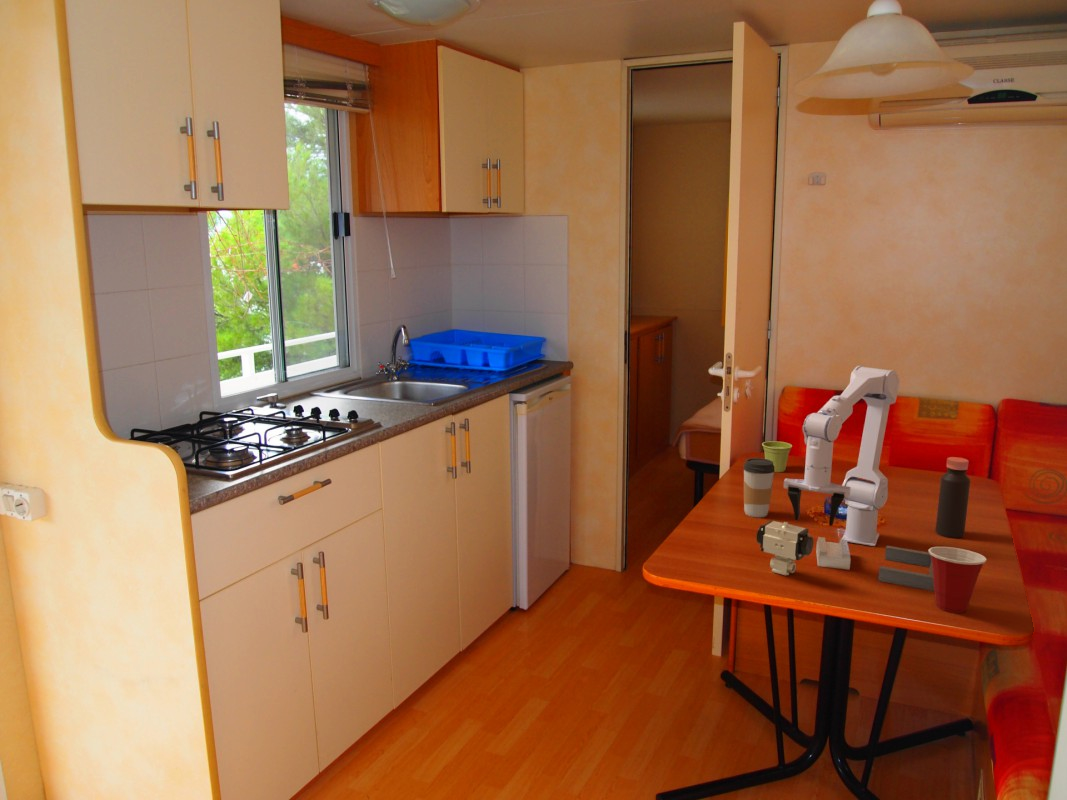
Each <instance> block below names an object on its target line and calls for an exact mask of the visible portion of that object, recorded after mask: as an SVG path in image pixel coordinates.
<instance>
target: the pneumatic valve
mask: <svg viewBox="0 0 1067 800" xmlns="http://www.w3.org/2000/svg"><path fill="white" fill-rule="evenodd" d="M756 543H757V544H759V545H760V546H759V547H760V548H761V549H760V551H761V552H764V553H768V554H771V555H774V556H775V557H771V559H770V560H769V561H770V563H769V567H770V568H771V572H772V573H774V574H777V575H783V576H786V577H787V576H789V575H790V574H794V573H795V571H796V567H797V566H796V563H795V561H800V560H801V559H803V558H804V557H806V556H807V557H808V556H810V554H811V553H812V551H813V548H814V537H813V536H810V533H809V528H805V527H802V526H797V525H793V524H789V522H788V521H784V522H780V521H775V520H769V521H768V522H767V523H766V522H765V524H761V525H760V526H759V527H758V529H757V533H756Z"/></svg>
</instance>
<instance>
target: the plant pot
mask: <svg viewBox="0 0 1067 800" xmlns="http://www.w3.org/2000/svg"><path fill="white" fill-rule="evenodd" d="M761 445H762V447H763V451H764V459H767V460H771V461H772V462H773V465H774V467H775V468H774V470H775V471H774V473H783V472H785V471H786V467H787V462H788V459H789V453H790V452H791V449H792V447H793V445H792V444H791V443H788V442H784V441H775V440H773V441H771V440H770V441H764V442H762V443H761Z"/></svg>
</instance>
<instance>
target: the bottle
mask: <svg viewBox="0 0 1067 800" xmlns="http://www.w3.org/2000/svg"><path fill="white" fill-rule="evenodd" d="M969 462H970V461H969V460H968V459H966V458H964V457H955V456H950V457H947V458H946V471H947V472H945V473H943V474H942V476H941V477H940V485H939V487H940V488H939V493H938V504H937V512H936V522H935V529H934V530H935V532H936V534H937V535H940V536H941V537H945V538H950V539H952V538H953V539H959V538H963V537H964V536H965V533H966V532H965V531H966V522H967V513H968V505H969V494H970V487H971V478H970V477H969V476H968V475H967V473H966V472H968V468H969Z"/></svg>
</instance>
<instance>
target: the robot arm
mask: <svg viewBox="0 0 1067 800" xmlns="http://www.w3.org/2000/svg"><path fill="white" fill-rule="evenodd" d="M899 378H900V377H899V375H898V374H897V372H896V370H895V369H883V368H876V367H868V366H867V367H866V366H862V365H857V366H855V368H854V369H852V371H851V373H850V377H849V384H848V385H847V386H846V388H844V390H843V391H842V393H841V394H840V395H833V396H832V397H831V398H830V399H829V400H828V401H826V403H825V404H824V405H823V406H822V407H821V408H820V409H819V410H818V411H817V412H812V413H810V414H808V415H807V416H806V418H805V419H804V422H803V425H802V433H803V436H804V444H805V445H806V451H805V452H806V453H805V467H804V479H803V478H802V479H800V478H798V479H797V478H784V481H783V489H787V491H786V492H787V496H788V498H789V500H790V503H791V506H792V510H793V514H794V521H799V519H800V515H801V512H800V511H801V499H802V498H801V497H802V491H807V492H808V491H809V492H815V493H822V494H829V495H832V496H831V498H830V514H829V515H830V516H829V519H828V520H829V521H828V522H829V523H828V526H833V525H834V522H835V521H834V520H835V517H836V514H837V511H838V509H839V507H840V506H841V504H842V502H843V501H845V503H844V504H845V505H847V513H846V523H845V531H844V534H843V536H842V538H841V539H844V540H847V543H852V544H853V543H854V544H857V545H865V546H870V547H876V545H877V542H878V539H879V537H880V533H878V532H877V525H878V518H879V517H878V514H879V509H880V510H881V508H883V507H884V506H885V504H886V503H887V500H888V496H889V491H888V484H889V479H888V478H887V477H886V476H885V475H884V474H883V473H882V471H880V469H879V466H880V460H881V457H882V455H881V454H882V451H883V450H882V449H883V445H884V444H883V443H884V438H885V433H886V427H887V423H888V416H889V411H890V405H894V404H895V403H896V402H897V401H896V400H897V397H898V392H899V386H900V379H899ZM861 399H862V400H864V401H865V403H866V405H867V409H866V414H865V420H864V424H863V431H862V437H861V441H860V442H861V443H860V448H859V454H858V459H857V464H856V466H855V467H853V468H851V469H849V470H848V471H847V472H846V473H845V477H844V481H843V482H842V484H836V483H833V482H831V479H832V478H831V475H832V463H833V452H834V451H833V450H834V441H836V440H837V438H838V437H839V434H840V431H841V429H842V427H843V425H842V424H843V423H845V421H846V420H847V419H849V417H850V416H851V415H852V414H853V409H854V407H853V406H854V405H855V404H856V403H858V402H859V401H860V400H861Z"/></svg>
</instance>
